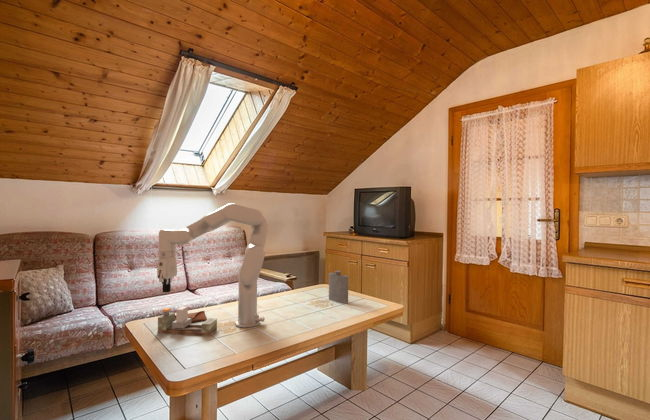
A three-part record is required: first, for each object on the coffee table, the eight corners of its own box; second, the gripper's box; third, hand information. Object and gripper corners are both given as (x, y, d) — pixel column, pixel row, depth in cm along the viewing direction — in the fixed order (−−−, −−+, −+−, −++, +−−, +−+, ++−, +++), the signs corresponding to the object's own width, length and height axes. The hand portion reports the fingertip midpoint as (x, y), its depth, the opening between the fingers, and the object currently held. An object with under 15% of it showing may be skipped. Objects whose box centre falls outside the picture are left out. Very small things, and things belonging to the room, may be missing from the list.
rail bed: (216, 329, 166) (217, 314, 165) (209, 335, 158) (209, 320, 157) (167, 327, 168) (167, 312, 168) (157, 333, 160) (157, 317, 160)
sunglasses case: (173, 327, 168) (172, 313, 171) (170, 330, 173) (169, 317, 176) (209, 320, 179) (207, 307, 182) (206, 323, 184) (204, 311, 187)
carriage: (191, 323, 166) (191, 306, 166) (184, 328, 159) (184, 310, 159) (180, 322, 167) (180, 305, 167) (172, 327, 160) (172, 309, 160)
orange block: (170, 318, 165) (170, 308, 165) (167, 320, 163) (167, 309, 163) (165, 318, 165) (165, 307, 165) (162, 319, 163) (162, 309, 163)
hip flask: (349, 303, 214) (349, 272, 213) (344, 304, 211) (345, 273, 211) (331, 298, 225) (331, 268, 225) (326, 299, 222) (327, 269, 222)
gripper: (165, 257, 156) (164, 296, 156) (182, 252, 171) (181, 288, 171) (150, 256, 157) (149, 295, 157) (168, 252, 172) (168, 287, 172)
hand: (166, 291), depth 164 cm, fingers closed
